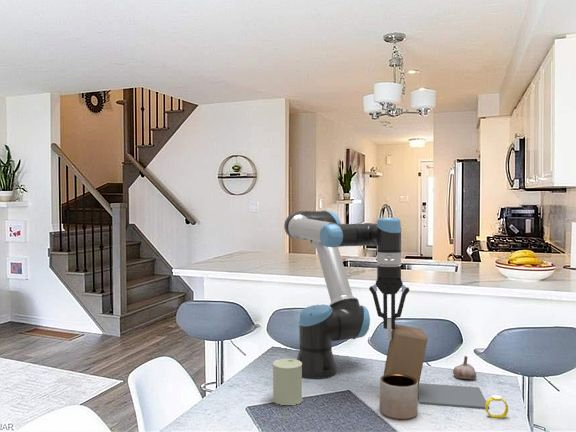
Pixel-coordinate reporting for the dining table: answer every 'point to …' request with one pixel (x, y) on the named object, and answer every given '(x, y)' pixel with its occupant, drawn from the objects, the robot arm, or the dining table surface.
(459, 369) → the garlic bulb
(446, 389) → the mat
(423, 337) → the wooden block
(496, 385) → the dining table surface
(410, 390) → the planter
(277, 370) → the can
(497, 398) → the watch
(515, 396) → the dining table surface
